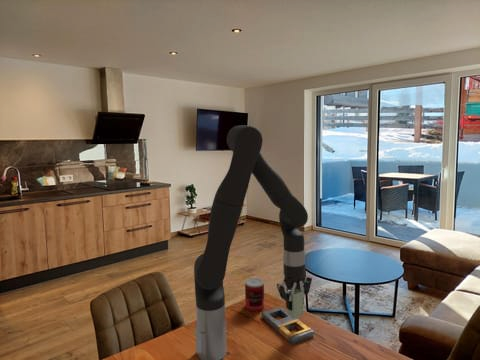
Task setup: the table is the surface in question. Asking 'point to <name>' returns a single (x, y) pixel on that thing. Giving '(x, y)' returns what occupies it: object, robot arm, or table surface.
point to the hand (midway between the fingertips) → (295, 307)
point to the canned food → (254, 294)
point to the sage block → (296, 305)
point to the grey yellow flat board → (287, 325)
